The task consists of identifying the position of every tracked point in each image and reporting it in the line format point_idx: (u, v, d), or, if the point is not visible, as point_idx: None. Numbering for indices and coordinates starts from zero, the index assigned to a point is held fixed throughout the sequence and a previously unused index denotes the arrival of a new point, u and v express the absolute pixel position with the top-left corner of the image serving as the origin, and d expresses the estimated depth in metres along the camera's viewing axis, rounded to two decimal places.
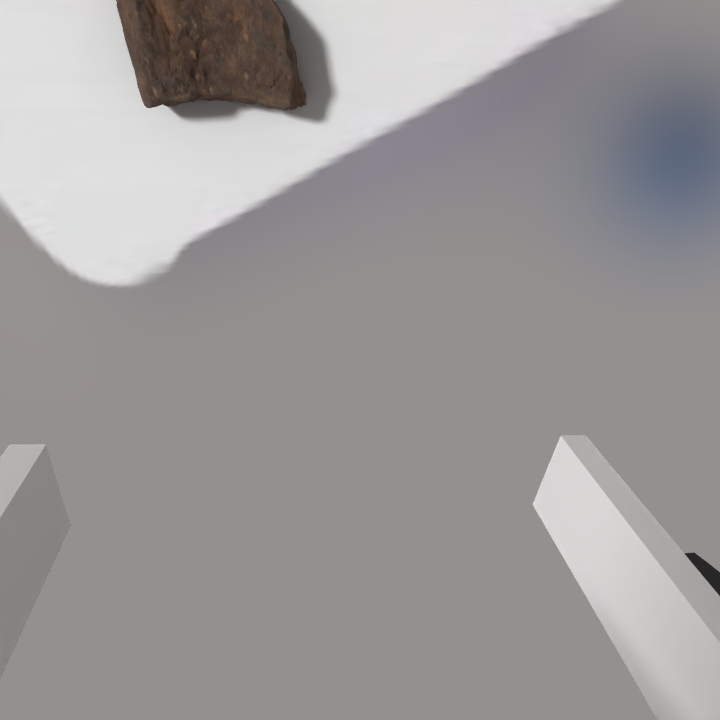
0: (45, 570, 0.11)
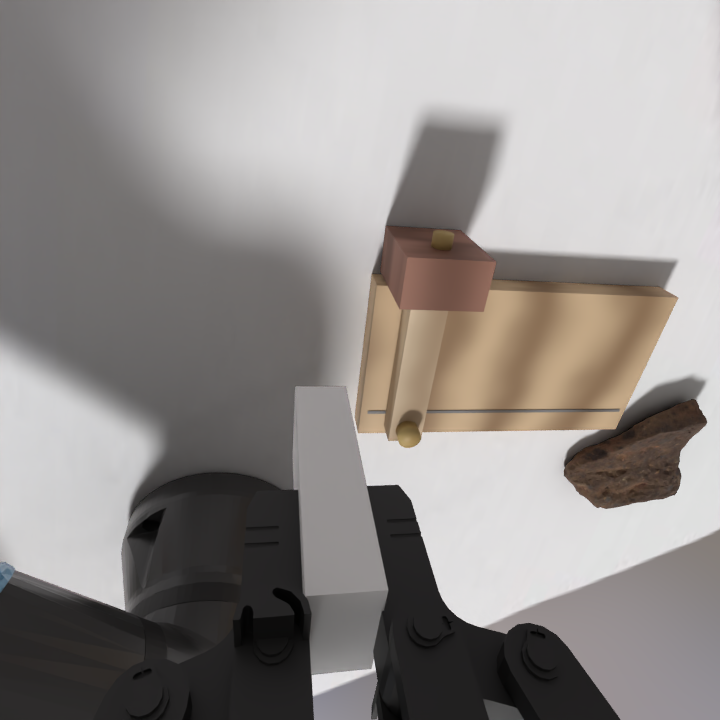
0: None
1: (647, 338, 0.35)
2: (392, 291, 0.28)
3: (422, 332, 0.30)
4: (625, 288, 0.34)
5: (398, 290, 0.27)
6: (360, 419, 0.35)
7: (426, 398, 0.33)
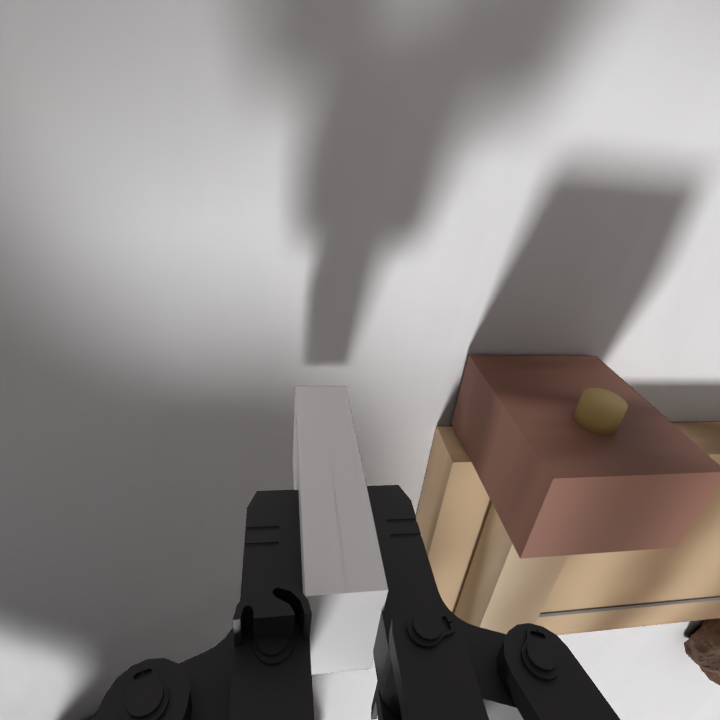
0: None
1: None
2: (492, 496, 0.15)
3: None
4: None
5: (515, 516, 0.13)
6: None
7: None
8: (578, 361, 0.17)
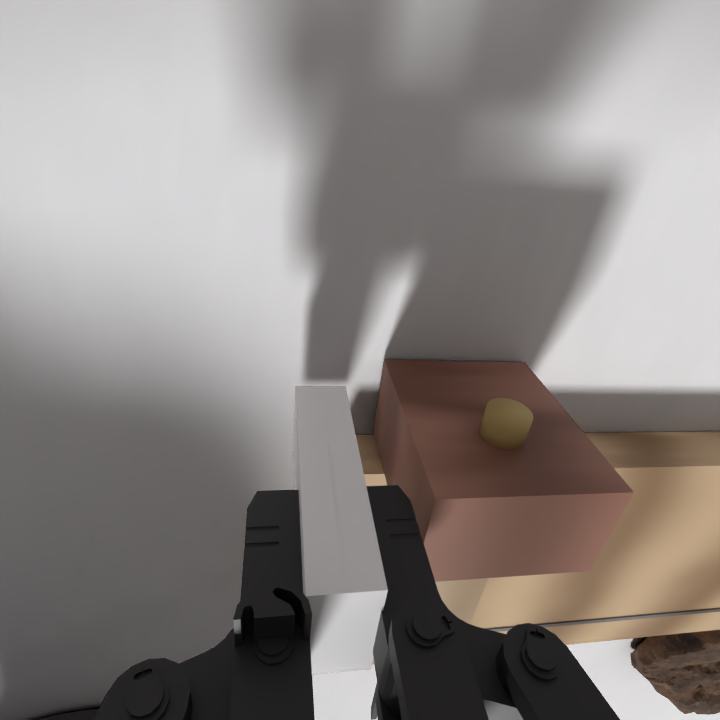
0: None
1: None
2: None
3: None
4: None
5: None
6: None
7: None
8: (503, 368, 0.16)
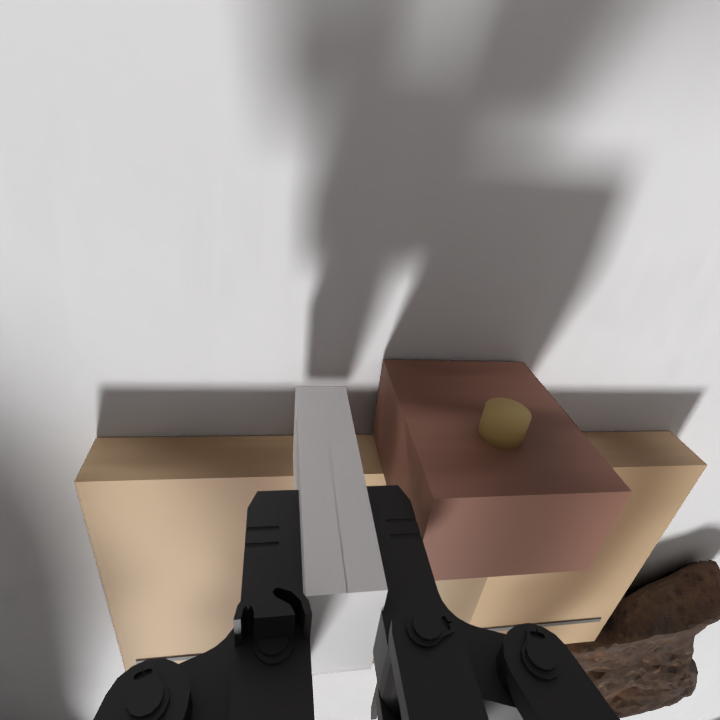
0: None
1: (648, 525, 0.19)
2: None
3: None
4: (608, 440, 0.19)
5: None
6: None
7: None
8: (502, 367, 0.16)
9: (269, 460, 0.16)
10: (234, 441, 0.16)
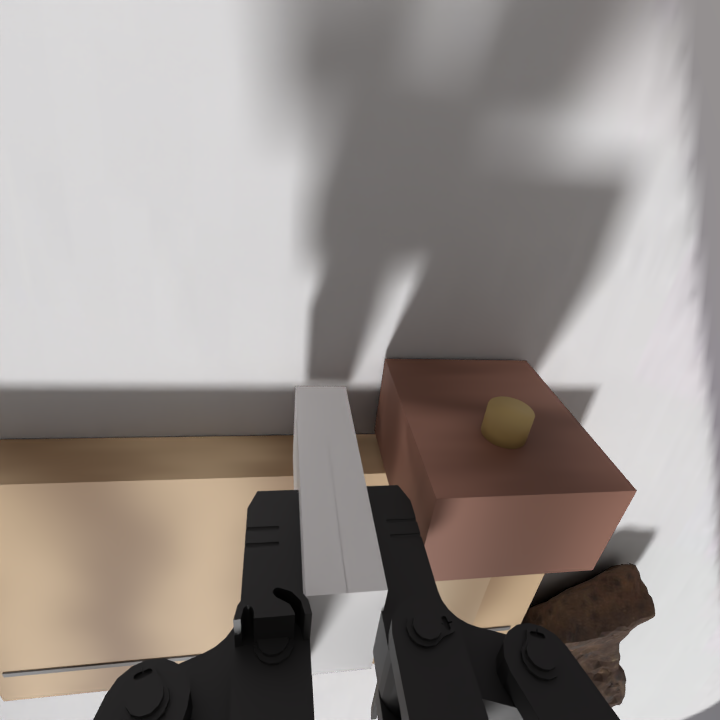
0: None
1: None
2: None
3: None
4: None
5: None
6: None
7: None
8: (504, 366, 0.16)
9: (110, 464, 0.15)
10: (80, 444, 0.15)
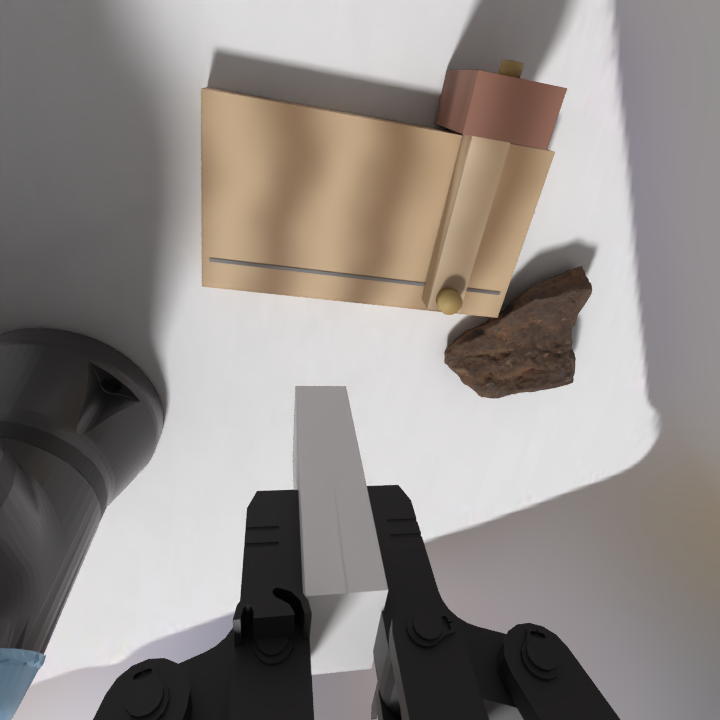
0: None
1: (524, 202, 0.32)
2: (452, 126, 0.27)
3: (477, 180, 0.29)
4: None
5: (462, 116, 0.26)
6: (202, 268, 0.32)
7: (471, 263, 0.32)
8: None
9: (302, 105, 0.28)
10: (282, 101, 0.29)
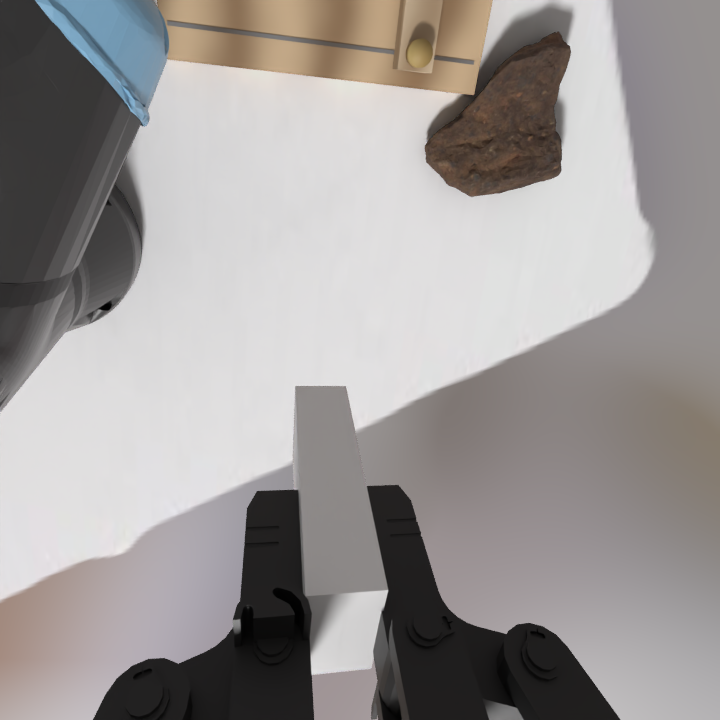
0: None
1: None
2: None
3: None
4: None
5: None
6: None
7: (438, 6, 0.30)
8: None
9: None
10: None
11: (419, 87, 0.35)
